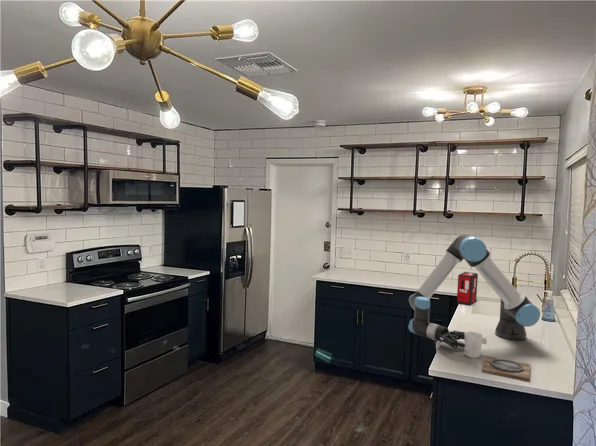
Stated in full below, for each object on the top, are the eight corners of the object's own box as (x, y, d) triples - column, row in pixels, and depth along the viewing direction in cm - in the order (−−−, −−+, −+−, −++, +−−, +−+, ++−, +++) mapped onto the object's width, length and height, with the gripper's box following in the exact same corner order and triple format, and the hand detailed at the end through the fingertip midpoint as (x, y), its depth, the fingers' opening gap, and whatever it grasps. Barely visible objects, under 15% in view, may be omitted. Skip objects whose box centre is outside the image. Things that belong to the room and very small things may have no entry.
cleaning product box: (470, 305, 303) (471, 276, 301) (456, 303, 308) (458, 275, 306) (476, 301, 316) (477, 273, 315) (463, 299, 321) (464, 271, 320)
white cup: (476, 352, 213) (478, 331, 212) (484, 358, 205) (485, 337, 204) (460, 352, 213) (461, 331, 212) (467, 358, 205) (468, 336, 204)
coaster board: (486, 358, 205) (486, 354, 205) (530, 366, 197) (530, 362, 197) (481, 371, 189) (482, 367, 189) (529, 381, 181) (529, 376, 181)
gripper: (450, 335, 230) (491, 346, 215) (423, 345, 214) (465, 358, 198) (451, 321, 230) (492, 331, 214) (424, 330, 213) (466, 342, 197)
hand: (479, 344), depth 206 cm, fingers open, 13 cm apart
